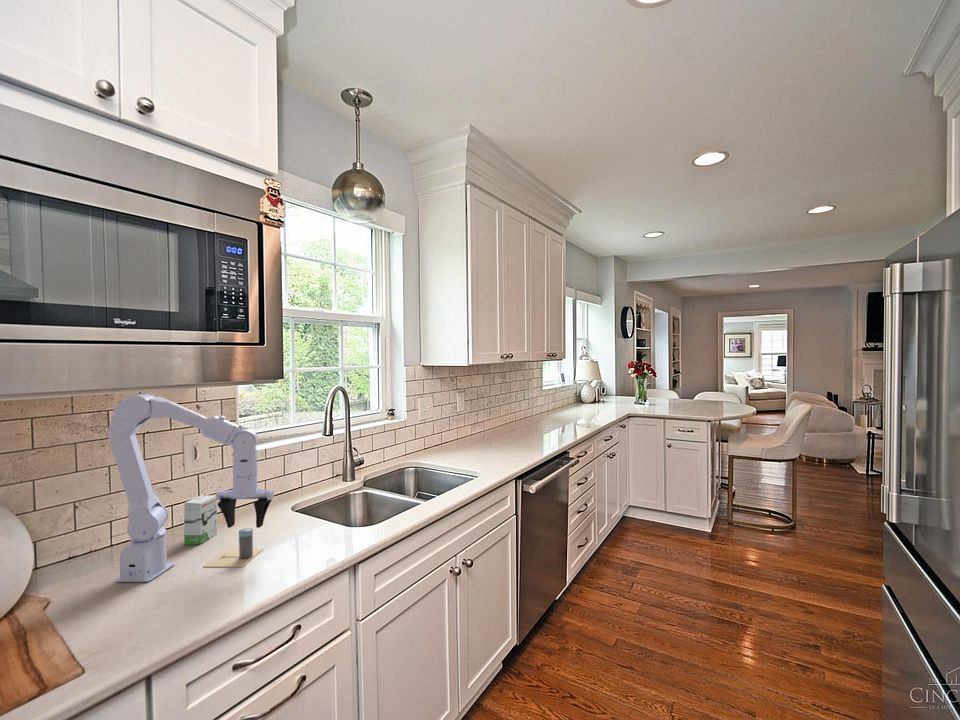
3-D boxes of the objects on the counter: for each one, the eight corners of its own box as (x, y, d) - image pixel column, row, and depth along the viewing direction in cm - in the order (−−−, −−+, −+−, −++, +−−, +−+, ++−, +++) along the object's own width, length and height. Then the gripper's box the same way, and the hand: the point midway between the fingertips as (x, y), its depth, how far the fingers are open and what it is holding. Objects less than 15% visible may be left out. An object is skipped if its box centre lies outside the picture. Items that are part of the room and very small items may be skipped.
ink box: (200, 545, 131) (199, 503, 131) (183, 545, 131) (182, 503, 131) (218, 533, 140) (217, 494, 140) (202, 533, 140) (201, 494, 140)
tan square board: (242, 567, 117) (242, 566, 117) (203, 567, 117) (203, 566, 117) (263, 549, 128) (263, 548, 128) (227, 549, 128) (227, 548, 128)
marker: (249, 559, 121) (248, 532, 121) (236, 559, 121) (236, 532, 121) (255, 554, 124) (255, 528, 124) (243, 554, 124) (242, 528, 124)
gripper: (279, 471, 126) (279, 521, 126) (226, 471, 127) (226, 521, 127) (266, 477, 119) (267, 530, 119) (211, 477, 119) (211, 530, 119)
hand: (245, 526), depth 122 cm, fingers open, 7 cm apart
